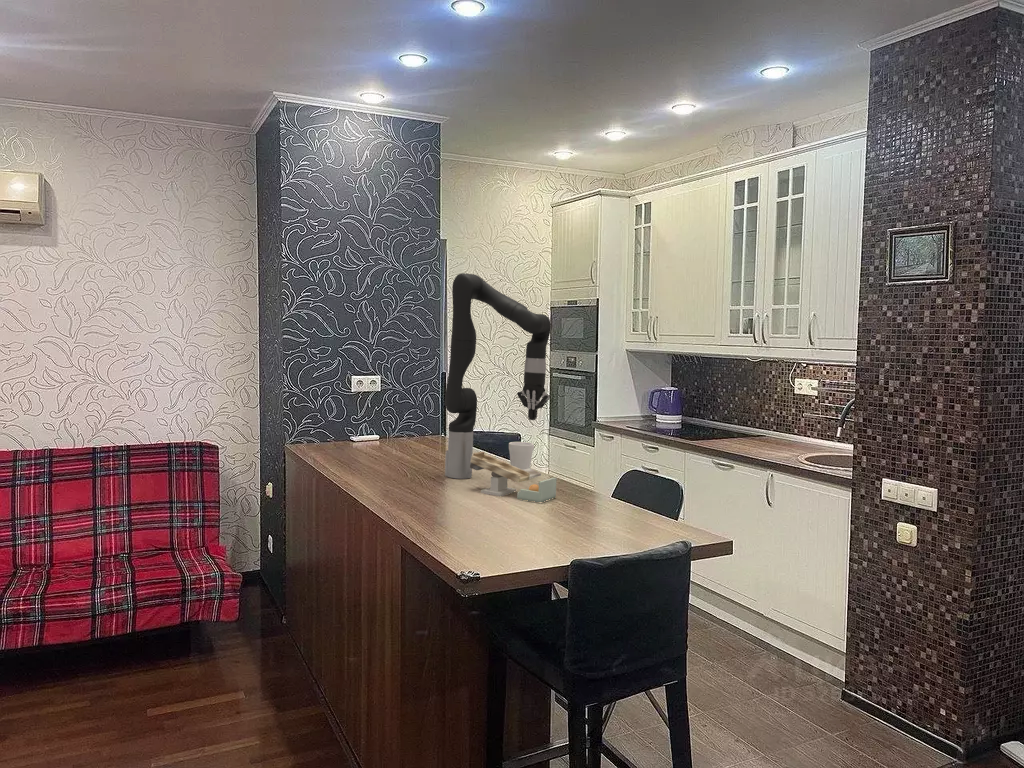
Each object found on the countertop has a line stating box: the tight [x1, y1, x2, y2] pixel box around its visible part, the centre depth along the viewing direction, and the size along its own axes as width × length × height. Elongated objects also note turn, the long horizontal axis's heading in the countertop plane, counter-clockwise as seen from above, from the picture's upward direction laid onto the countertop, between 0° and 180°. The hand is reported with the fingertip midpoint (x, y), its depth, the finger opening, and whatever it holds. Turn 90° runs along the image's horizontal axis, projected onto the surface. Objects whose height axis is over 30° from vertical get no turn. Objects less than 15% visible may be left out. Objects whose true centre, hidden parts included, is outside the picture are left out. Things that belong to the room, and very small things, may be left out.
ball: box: [528, 483, 539, 492], centre depth 262 cm, size 4×4×4 cm
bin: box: [516, 477, 557, 503], centre depth 262 cm, size 9×10×7 cm
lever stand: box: [480, 475, 517, 497], centre depth 270 cm, size 8×10×6 cm
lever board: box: [470, 451, 542, 484], centre depth 273 cm, size 20×15×5 cm
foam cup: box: [508, 441, 535, 470], centre depth 296 cm, size 10×9×13 cm
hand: (532, 419), depth 278 cm, fingers closed
